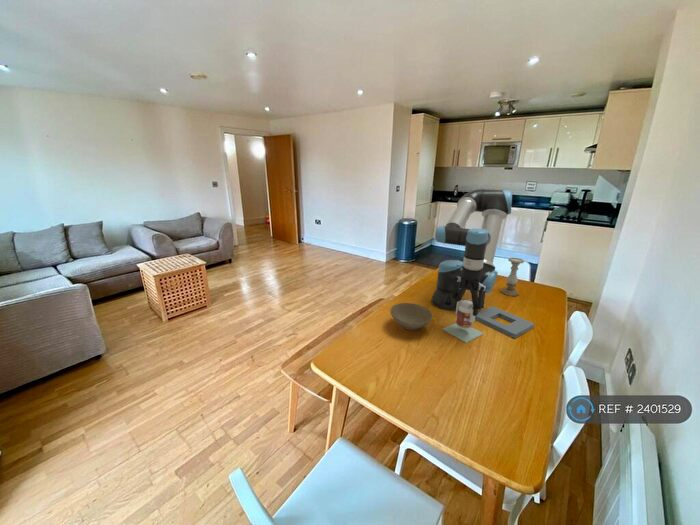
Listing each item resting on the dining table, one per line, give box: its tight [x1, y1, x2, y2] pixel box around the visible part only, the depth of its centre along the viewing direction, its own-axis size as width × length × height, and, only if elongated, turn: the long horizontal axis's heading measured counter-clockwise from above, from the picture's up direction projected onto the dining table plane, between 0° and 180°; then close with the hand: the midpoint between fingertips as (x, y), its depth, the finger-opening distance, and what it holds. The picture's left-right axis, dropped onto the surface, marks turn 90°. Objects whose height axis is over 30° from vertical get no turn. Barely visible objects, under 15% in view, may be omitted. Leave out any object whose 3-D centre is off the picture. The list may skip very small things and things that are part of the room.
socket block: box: [475, 305, 536, 340], centre depth 129 cm, size 20×16×2 cm
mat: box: [442, 322, 484, 344], centre depth 122 cm, size 12×12×1 cm
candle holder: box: [500, 257, 525, 297], centre depth 156 cm, size 9×9×20 cm
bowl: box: [389, 302, 433, 331], centre depth 124 cm, size 18×18×8 cm
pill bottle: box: [455, 299, 473, 329], centre depth 119 cm, size 6×6×11 cm
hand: (464, 317), depth 120 cm, fingers closed on pill bottle, 6 cm apart
